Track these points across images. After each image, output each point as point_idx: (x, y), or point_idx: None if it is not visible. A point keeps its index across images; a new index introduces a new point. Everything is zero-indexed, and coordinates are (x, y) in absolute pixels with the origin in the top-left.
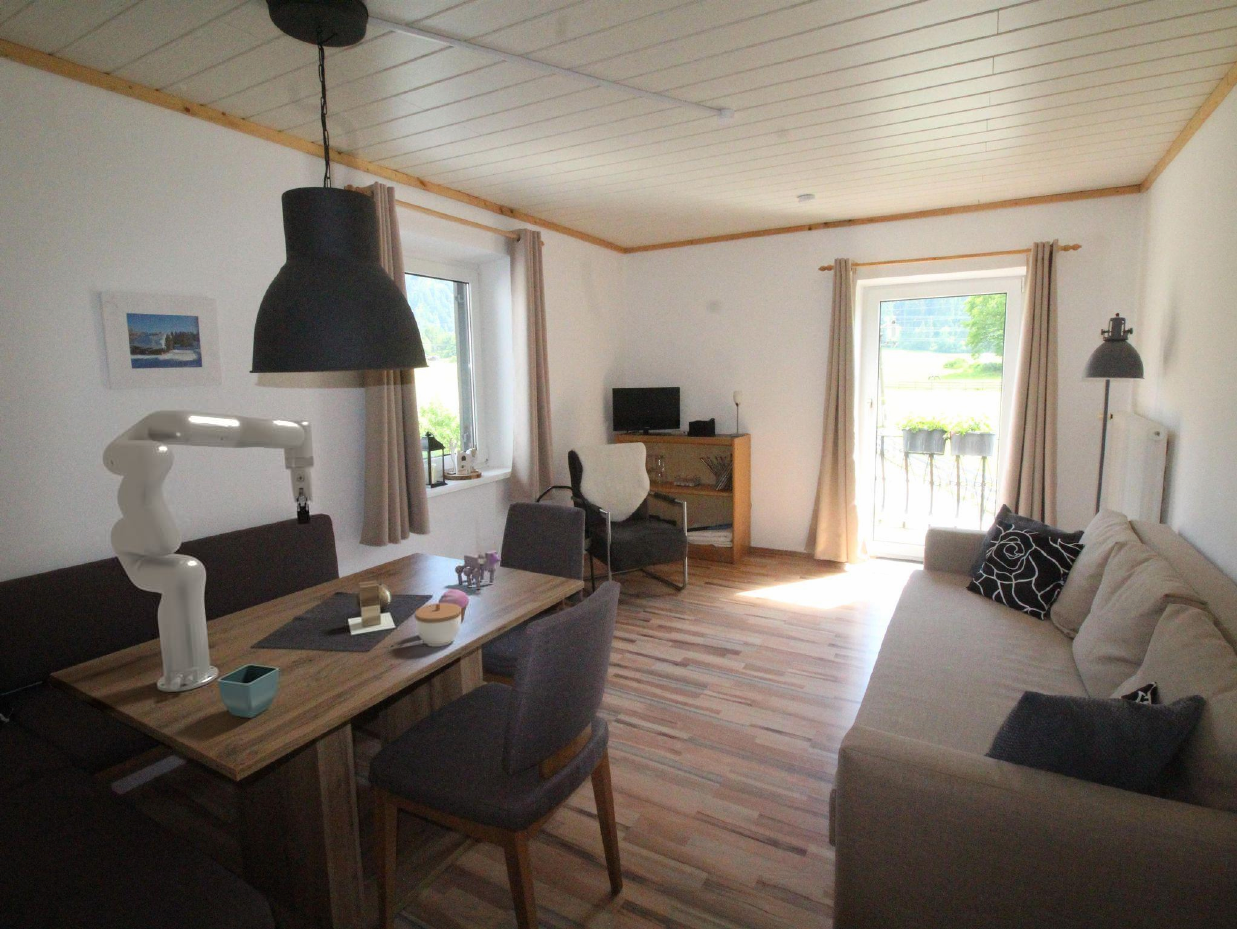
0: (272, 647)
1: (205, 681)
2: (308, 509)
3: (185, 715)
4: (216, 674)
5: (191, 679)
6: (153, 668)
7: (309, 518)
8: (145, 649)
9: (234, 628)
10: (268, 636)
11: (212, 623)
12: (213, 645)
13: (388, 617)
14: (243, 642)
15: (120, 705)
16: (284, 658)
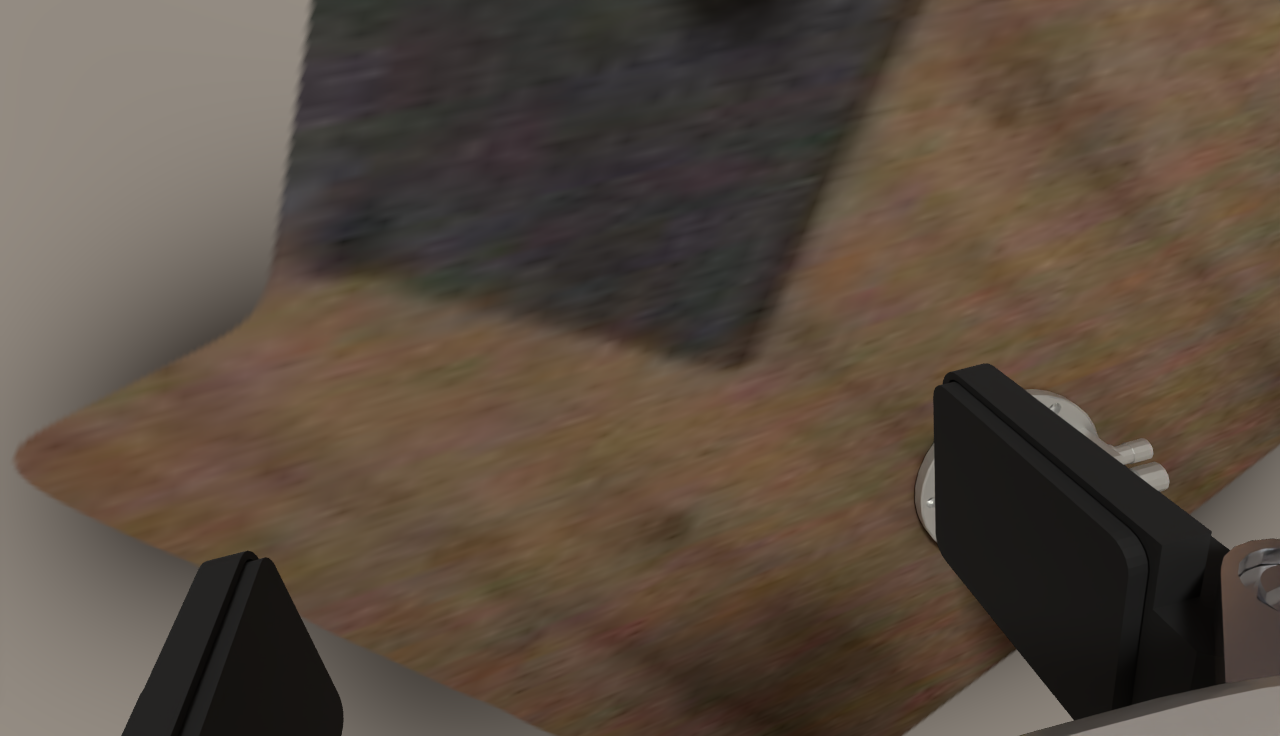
0: (778, 269)
1: (1080, 408)
2: (209, 698)
3: (1275, 375)
4: (1033, 393)
5: (1148, 444)
6: (827, 623)
7: (1049, 410)
8: (619, 727)
9: (447, 520)
10: (614, 331)
11: (348, 635)
12: (658, 524)
13: None
14: (662, 418)
15: None
16: (944, 175)
